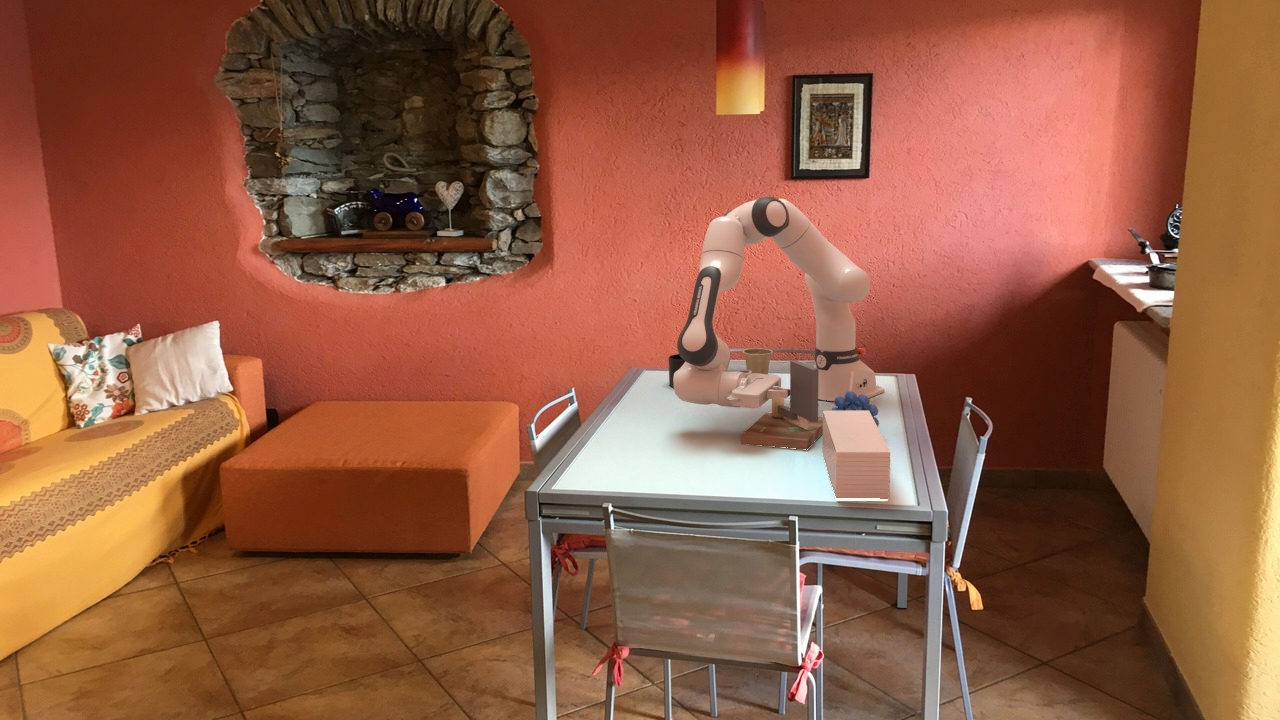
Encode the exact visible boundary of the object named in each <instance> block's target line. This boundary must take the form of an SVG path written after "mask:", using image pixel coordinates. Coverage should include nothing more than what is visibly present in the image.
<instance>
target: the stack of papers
mask: <svg viewBox="0 0 1280 720" xmlns="http://www.w3.org/2000/svg"><path fill="white" fill-rule="evenodd" d="M822 417H823V428H822V430H823V431H822V435H821V436H822V437H821V438H822V439H821V440H822V444H821V446H822V447H821V450H822V452H821V454H822V453H823V455H822V457H824V458H823V461H824V460H825V462H824V464H825V463H826V465H825V468H826V467H827V469H826V471H828V472H827V475H828V474H829V476H828V479H829V478H830V479H829V482H830V481H831V483H830V485H831V484H832V486H831V488H832V487H833V490H834V493H835V496H836V498H880V499H888V498H889V499H890V484H891V483H890V482H891V481H890V479H891V477H890V475H891V451H890V448H889V447H888V445H887V443H886V441H885V439H884V436H883V435H882V433H881V431H880V429H879V428H878V427H879V426H878V427H877V425H876V423H875V421H874V419H873V417H872V415H871V413H870V411H869V410H854V411H832V410H822ZM833 490H832V491H833Z"/></svg>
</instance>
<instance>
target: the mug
mask: <svg viewBox="0 0 1280 720" xmlns="http://www.w3.org/2000/svg"><path fill="white" fill-rule="evenodd" d="M684 363H685V361H684V360H683V359H682V358H681V356H680V355H679V353H676V354H671V355H670V356H668V383H669V386H670V387H671V388H673V377H674V373H675V372H676V371H677V370H679V369H680V368H681V367H682V365H683V364H684Z"/></svg>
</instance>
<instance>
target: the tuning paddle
mask: <svg viewBox="0 0 1280 720" xmlns="http://www.w3.org/2000/svg"><path fill="white" fill-rule="evenodd" d="M789 362H790V363H789V372H790V374H789V381H790V382H789V383H790V384H789V385H790V386H789V389H790V390H791V394H790V396H789V397H790V398H789V406H787V405H785V398H778V399H771V413H772V416H773V417H784V416H785V417H787V418H789V419H791V420H797V419H798V416H799V426H800V427H802V428H804V429H808V420H809V421H811V422H818V417H819V399H818V377H819V369H817V368H815V367H814V366H812V365H809V364H806V363H803V362H801V361H799V360H790V361H789Z"/></svg>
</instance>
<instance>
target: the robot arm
mask: <svg viewBox="0 0 1280 720" xmlns="http://www.w3.org/2000/svg"><path fill="white" fill-rule="evenodd" d="M706 230H707V231H706V233H705V236H704V240H703V245H702V249H701V256H700V263H699V268H698V269H699V270H698V275H697V278H696V281H695V284H694V289H693V293H692V297H691V303H690V307H689V312H688V316H687V320H686V322H685V325H684V326H683V328H682V330H681V332H680V334H679V336H678V339H677V342H676V343H677V344H676V347H677V352H678V353H677V354H679V355H680V356H681V358H682V359H683V360H684V361H685V363H684V364H683V365H682V367H681V368H680V369H679V370H677V371H676V372H675V373H674V377H673V387H672V388H673V390H674V394H675V395H676V397H677V398H678V399H679V400H680V401H683V402H685V403H689V404H697V405H706V406H707V405H708V406H709V405H712V404H713V405H717V406H720V407H727V408H728V407H729V408H745V409H759V408H761V407H762V406H763V405H764V404H765V403H767V402H768V401H769V400H772V399H778V398H784V399H787V398H788V397H790V394H791V390H790V388H785V387H782V378H781V377H779V376H777V375H772V374H768V375H767V374H759V373H753V374H752V372H751V371H747V369H745V370H740V371H728V368H729V364H730V361H731V350H730V348H729V346H728V344H727V343H726V342H725V341H724V340H723V339H722V338H721V337H719V336H718V335H717V333H716V331H715V327H714V320H715V315H716V310H717V305H718V300H719V297H720V294H721V293H722V292H725V291H729V290H731V289H733V288H734V287H736V285H738V283H739V280H740V279H741V274H742V271H743V265H744V259H745V258H744V256H745V247H747V246H751V245H755V244H758V243H761V242H762V241H765V240H767V239H770V238H771V239H772V240H773V242H774V243H775V245H776V246H778V248H779V249H780V250H781V251H782V252H783V253H784V254H785V255H786V257H787V258H789V260H790V261H791V262H792V263H793V265H795V266H796V267H797V268H798V269H799V270H801V271H802V272H803V273H804V283H805V286H806V288H807V289H808V291H809V294H810V297H811V301H812V307H813V311H814V316H815V329H816V330H815V334H816V336H815V338H816V339H815V341H816V342H815V343H816V346H815V348H814V353H813V354H814V358H813V360H814V362H815V364H814V366H813V367H815V368H817V369H819V377H818V400H821V401H826V400H827V401H829V402H834V401H835V398H836V397H838V396H840V397H844V398H845V393H846V392H848V391H851V392H854V393H855V394H856V395H857V398H858V396H859V395H861V394H863V395H866V396H867V397H868V398H869V399H870V398H872V397H875V396H877V395H880V394H883V393H885V388H884V387H882V386H881V385H878V384H877V378H876V374H875V371H874V370H872V369H871V368H870V367H869V366H868V365H867V364H866V363H864V362H863V361H862V360H861V358H860V355H861V356H865V355H866V351H867V350H866V348H864V347H858V348H857V347H856V333H857V332H856V326H857V325H856V320H855V317H854V315H853V313H852V312H851V308H850V304H853V303H859V302H861V301H863V300H864V299H865V298H866V297H867V295H868V294H869V292H870V289H871V279H870V276H869V274H868V273H867V271H865V270H864V269H862V268H861V267H859V266H858V265H857V264H855V263H854V261H852V260H851V259H850V258H849V257H848V256H847V255H845V253H843V252H842V251H841V250H840V249H838V248H837V247H836V246H835V245H833V244H832V243H831V242H830V241H829V240H828V239H827V238H826V237H825V236H824V235H823V234H822V232H821V231H820V230H819V229H818V228H817V227H816V226H815V225H814V223H812V221H811V220H810V219H809V218H808V217H807V216H806V215H805V213H803V212H802V211H801V210H800V209H799V208H798V207H797V206H796V205H794V203H791V201H789V200H788V199H785V198H777V197H774V196H763V197H759V198H757V199H753V200H751V201H747V202H744V203H743V204H741V205H739V206H737V207H736V208H733V209H730V210H728V211H726V212H725V213H724V214H723V215H722V216H719V217H716V218H714V219H712V220H711V221H710V222H709V224H708V227H707V229H706Z"/></svg>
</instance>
